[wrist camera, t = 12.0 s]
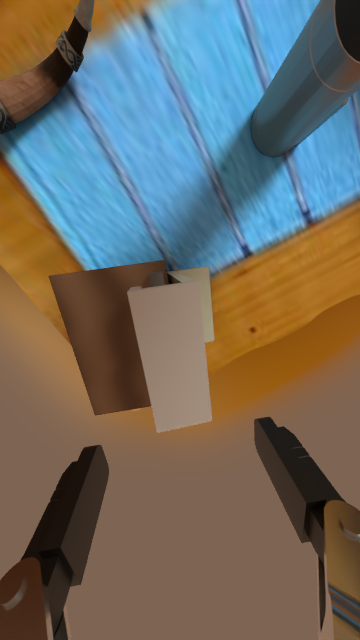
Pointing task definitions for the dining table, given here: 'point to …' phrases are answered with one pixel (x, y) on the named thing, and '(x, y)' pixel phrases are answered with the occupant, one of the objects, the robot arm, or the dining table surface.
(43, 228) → the dining table surface
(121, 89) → the dining table surface
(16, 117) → the drinking horn
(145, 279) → the cabinet
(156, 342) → the white angled bracket
